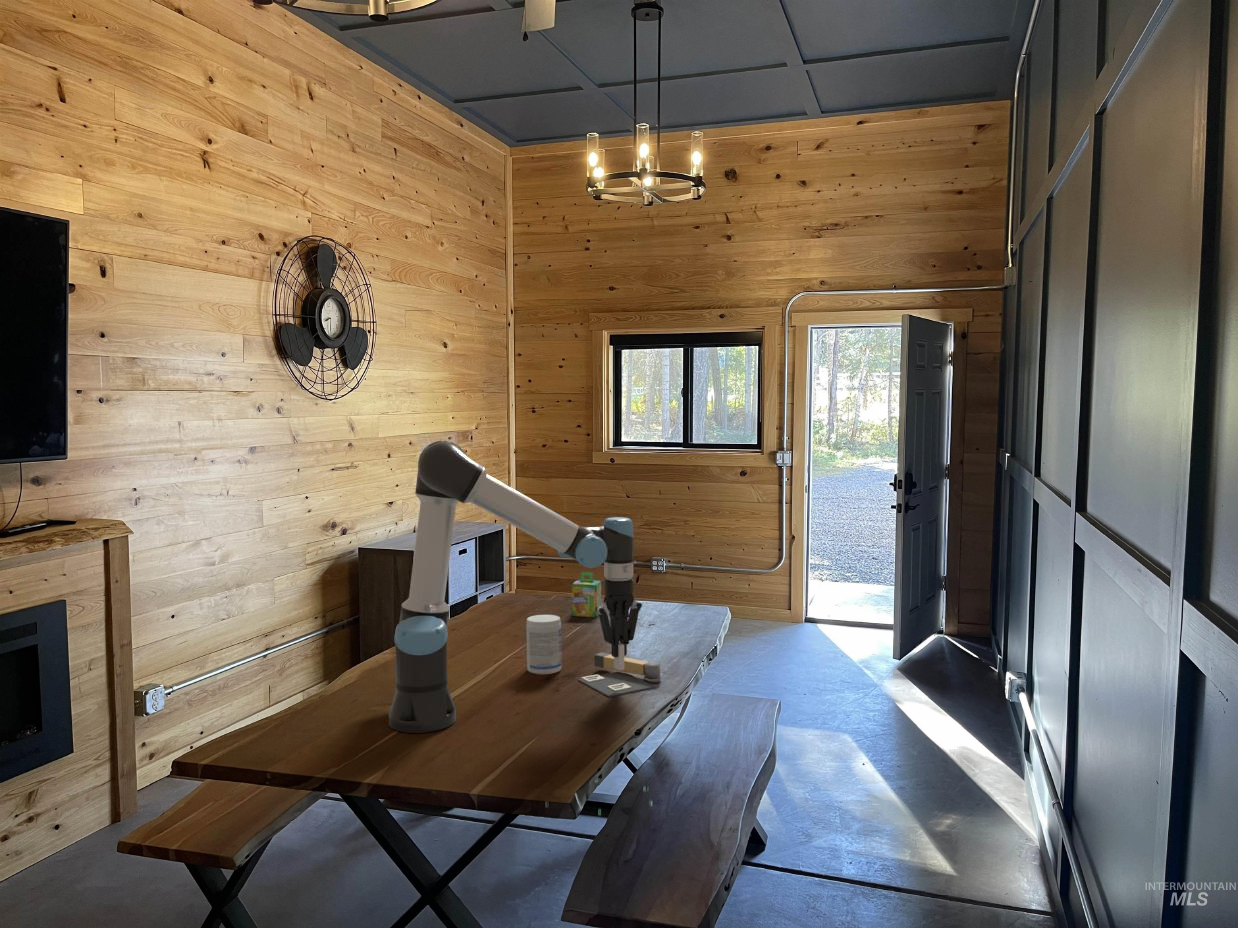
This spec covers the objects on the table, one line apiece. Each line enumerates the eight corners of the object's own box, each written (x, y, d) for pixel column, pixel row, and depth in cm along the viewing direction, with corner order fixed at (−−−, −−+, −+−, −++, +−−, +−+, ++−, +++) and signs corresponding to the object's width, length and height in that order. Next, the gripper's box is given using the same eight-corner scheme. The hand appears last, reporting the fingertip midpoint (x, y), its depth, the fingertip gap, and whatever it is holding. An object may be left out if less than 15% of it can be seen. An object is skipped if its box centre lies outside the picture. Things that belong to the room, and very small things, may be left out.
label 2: (614, 692, 222) (614, 689, 222) (606, 688, 225) (606, 685, 225) (631, 689, 224) (631, 686, 224) (623, 685, 228) (623, 682, 228)
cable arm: (593, 666, 240) (593, 654, 240) (602, 662, 243) (602, 651, 243) (654, 679, 229) (654, 667, 228) (662, 675, 232) (662, 663, 232)
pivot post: (650, 684, 228) (650, 680, 228) (640, 680, 232) (640, 675, 232) (663, 681, 231) (663, 677, 231) (654, 677, 234) (654, 673, 234)
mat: (608, 697, 219) (608, 695, 219) (578, 680, 232) (578, 678, 232) (655, 687, 226) (655, 686, 226) (622, 672, 239) (622, 670, 239)
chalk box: (571, 616, 304) (570, 574, 303) (576, 610, 313) (576, 570, 312) (596, 617, 303) (596, 575, 302) (601, 611, 312) (601, 570, 311)
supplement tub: (567, 671, 240) (567, 619, 239) (537, 677, 235) (536, 623, 234) (550, 663, 248) (550, 612, 247) (520, 668, 243) (520, 616, 242)
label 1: (588, 683, 229) (588, 680, 229) (581, 679, 233) (581, 676, 233) (604, 680, 232) (604, 677, 232) (597, 676, 235) (597, 673, 235)
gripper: (604, 583, 216) (604, 676, 218) (648, 577, 223) (648, 668, 225) (589, 578, 223) (589, 668, 224) (632, 573, 230) (632, 661, 231)
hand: (619, 668), depth 224 cm, fingers closed
